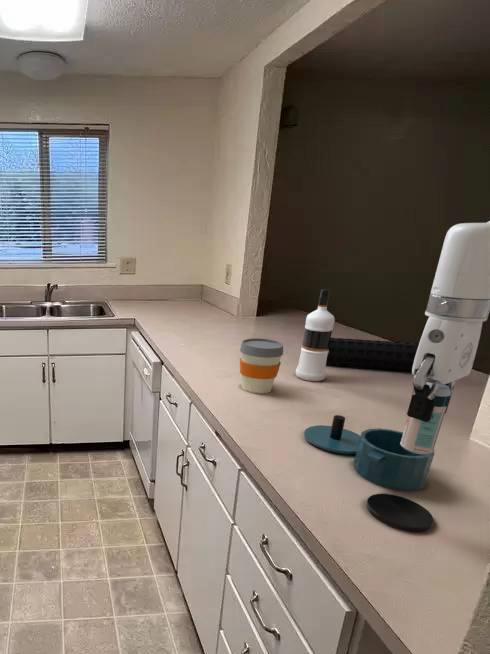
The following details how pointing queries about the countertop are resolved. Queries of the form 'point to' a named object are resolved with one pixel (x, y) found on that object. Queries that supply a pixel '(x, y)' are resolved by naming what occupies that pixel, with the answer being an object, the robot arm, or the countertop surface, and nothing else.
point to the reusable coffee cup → (259, 364)
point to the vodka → (316, 342)
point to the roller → (372, 354)
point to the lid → (333, 437)
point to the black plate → (400, 512)
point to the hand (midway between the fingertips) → (426, 413)
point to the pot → (390, 461)
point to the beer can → (426, 425)
